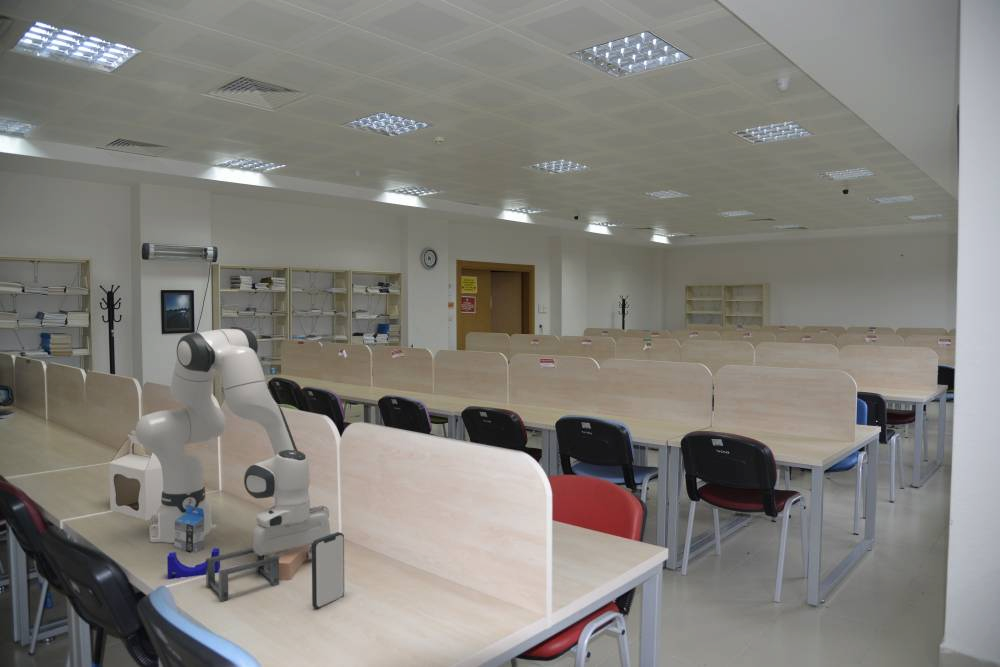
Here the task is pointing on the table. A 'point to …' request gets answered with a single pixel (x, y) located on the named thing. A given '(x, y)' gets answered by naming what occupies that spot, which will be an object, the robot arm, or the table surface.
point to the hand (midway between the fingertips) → (293, 563)
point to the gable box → (135, 480)
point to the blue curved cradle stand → (185, 571)
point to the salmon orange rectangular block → (292, 561)
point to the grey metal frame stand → (223, 574)
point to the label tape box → (190, 530)
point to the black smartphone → (327, 569)
